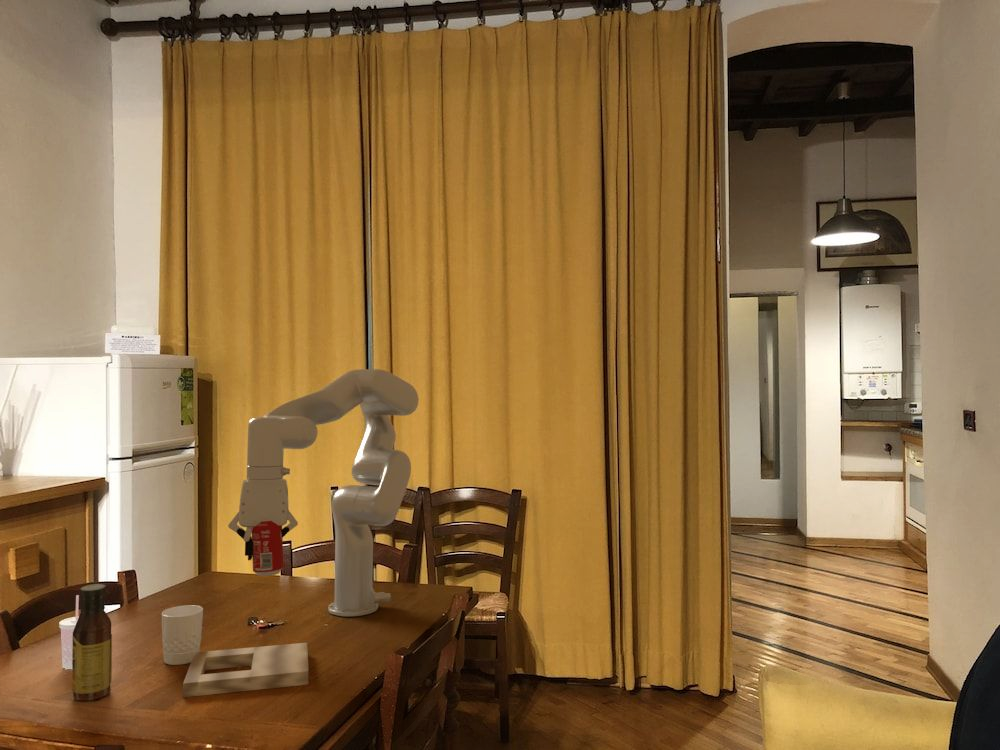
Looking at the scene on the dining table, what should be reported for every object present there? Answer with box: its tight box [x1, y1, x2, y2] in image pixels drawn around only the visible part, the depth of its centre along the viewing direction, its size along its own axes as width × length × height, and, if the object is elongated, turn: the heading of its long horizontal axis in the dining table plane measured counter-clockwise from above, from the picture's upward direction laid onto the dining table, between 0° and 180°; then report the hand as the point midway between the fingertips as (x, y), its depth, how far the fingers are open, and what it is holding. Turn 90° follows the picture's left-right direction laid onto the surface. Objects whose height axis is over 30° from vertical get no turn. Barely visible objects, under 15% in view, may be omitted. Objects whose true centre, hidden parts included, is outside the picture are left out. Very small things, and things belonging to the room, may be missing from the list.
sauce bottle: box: [71, 583, 113, 702], centre depth 129 cm, size 6×6×20 cm
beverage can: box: [251, 519, 284, 577], centre depth 154 cm, size 6×6×12 cm
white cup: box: [161, 604, 204, 666], centre depth 147 cm, size 8×8×10 cm
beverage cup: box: [58, 594, 80, 670], centre depth 143 cm, size 6×6×14 cm
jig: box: [182, 642, 309, 698], centre depth 139 cm, size 22×16×2 cm
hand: (262, 557), depth 153 cm, fingers closed on beverage can, 4 cm apart
